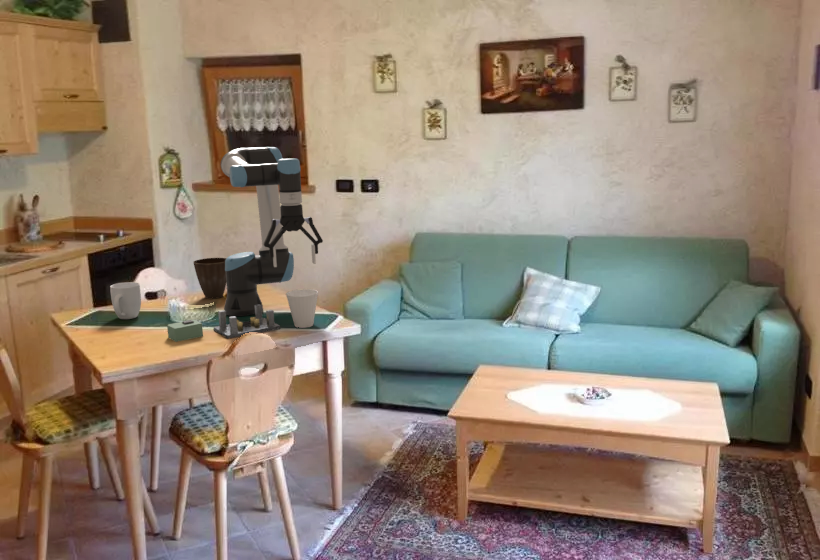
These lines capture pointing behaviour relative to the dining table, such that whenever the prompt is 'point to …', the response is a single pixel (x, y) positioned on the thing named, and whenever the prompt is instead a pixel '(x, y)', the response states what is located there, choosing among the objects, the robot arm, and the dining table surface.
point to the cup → (302, 306)
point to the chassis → (246, 324)
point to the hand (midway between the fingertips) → (294, 264)
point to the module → (185, 330)
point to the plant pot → (211, 276)
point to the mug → (126, 299)
